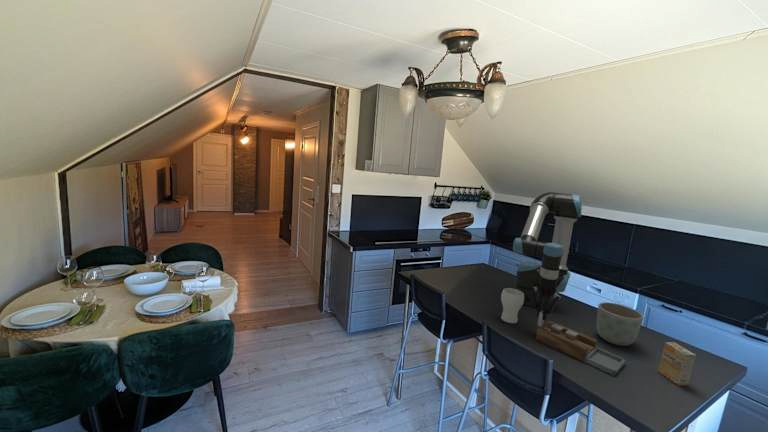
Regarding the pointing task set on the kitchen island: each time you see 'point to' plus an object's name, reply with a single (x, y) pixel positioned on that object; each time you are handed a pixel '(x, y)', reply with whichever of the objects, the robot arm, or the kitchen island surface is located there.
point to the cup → (511, 304)
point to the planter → (618, 323)
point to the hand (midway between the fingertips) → (540, 325)
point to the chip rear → (557, 329)
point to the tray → (605, 361)
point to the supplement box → (676, 363)
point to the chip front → (571, 335)
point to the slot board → (566, 342)
